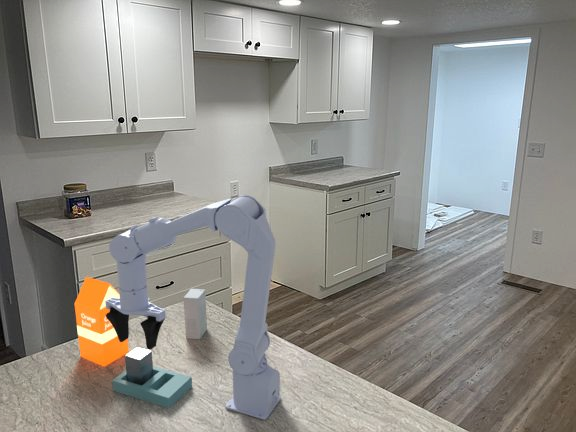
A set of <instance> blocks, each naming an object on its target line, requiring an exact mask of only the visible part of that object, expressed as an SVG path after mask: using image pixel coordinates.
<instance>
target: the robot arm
mask: <svg viewBox="0 0 576 432" xmlns="http://www.w3.org/2000/svg"><path fill="white" fill-rule="evenodd" d="M204 227H205V228H206V227H207V228H209V230H211V231H212V232H216V231H219V233H220V234H221V235H223V236H224V237H226V238H228V239H229V240H230V241H232V242H234V243H235V244H237V245H239V246H241V247H242V248H243V249H244V250H245V251H246V253H247V261H246V262H247V263H246V269H245V270H246V271H245V278H244V286H243V288H244V289H243V294H242V295H243V297H242V303H241V313H240V319H239V320H240V323H239V328H238V330H237V334H236V336H235V339H234V344H233V347H232V349H231V350H230V352H228V356H227V358H228V359H227V361H228V364H229V366H230V368H231V370H232V395H233V396H232V397H231V398H230V399H229V401H228V402H227V403H226V404H225V409H228V410H230V411H234V412H238V413H240V414H244V415H247V416H251V417H254V418H257V419H259V420H263V421H264V420H267V419H268V418H269V416H270V415H271V413H272V412H273V410H274V409H275V408H276V406H277V405H278V404H279V402H280V401H281V399H282V396H281V395H280V394H281V393H280V391H281V388H280V387H281V386H280V385H281V383H280V382H281V381H280V380H281V376H280V371H279V370H278V369H276V368H274V367H272V366H271V365H270V364H268V359H267V356H266V353H267V352H266V351H268V348H269V347H270V344H271V339H270V336H269V333H268V327H269V326H268V323H267V322H266V319H267V312H268V304H269V298H270V292H271V291H270V289H271V282H272V275H273V266H274V258H275V252H276V251H275V250H276V246H277V245H276V238H275V236H274V234H273V232H272V231H273V230H272V229H271V226H270V224H269V221H268V219H267V213H266V208H265V207H264V206H263V205H262V204H261V203H260V202H259V201H258V200H257V198H255V197H253V196H251V195H249V194H243V195H239V196H237V197H236V198H234V199H233V198H232V197H231V198H228V199H227V198H226V199H223V200H220V201H217V202H214V203H210V204H208V205H206V206H204V207H201V208H199V209H197V210H193V211H192V212H190V213H187V214H184V215H182V216H180V217H177V218H175V219H173V220H170V219H169V218H167V217H166V218H165V217H160V218H158V216H154V217H152V218H150V219H148V223H144V224H142V225H140V226H138V225H134V226H131V227H130V228H129V229H128V230H126V231H124V232H123V233H120V234H117V235H116V236H114V238H112V239H111V240H110V242H109V245H108V246H109V247H108V248H109V253H110V255H111V257H112V258H113V259H114V260H115V261H116V270H117V271H116V272H117V282H118V283H117V284H118V291H119V292H118V293H119V295H120V298H110V299H108V300H106V301H105V303H106V309H109V310H110V312H109V313H107V314H106V318H107V319H108V320H109V321H110V323H111V324H112V326H113V327H114V329H115V331H116V334H117V336H118V339H119V341H120V342H123V341H125V340H126V339H128V340H129V337H130V336H129V334H130V330H129V329H130V328H129V321H130V320H129V319H130V316H142V317H146V318H147V319H144V320H142V321H141V322H140V326H141V328H142V330H143V334H144V337H145V344H146V349H147V350H151V351H152V349H154V348H155V347H156V346H157V342H158V336H159V333H160V329H161V328H162V325H163V323H164V321H165V320H166V317H167V316H166V309H165V308H161V307H159V306H157V305H155V304H154V303H152V302H151V298H149V294H148V293H149V291H148V279H147V265H146V259H147V254H149V253H152V252H155V251H158V250H160V249H163V248H165V247H168V246H171V245H173V244H174V243H175V241H176V238H177V236H179V235H183V234H186V233H189V232H192V231H196V230H199V229H201V228H204Z"/></svg>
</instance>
